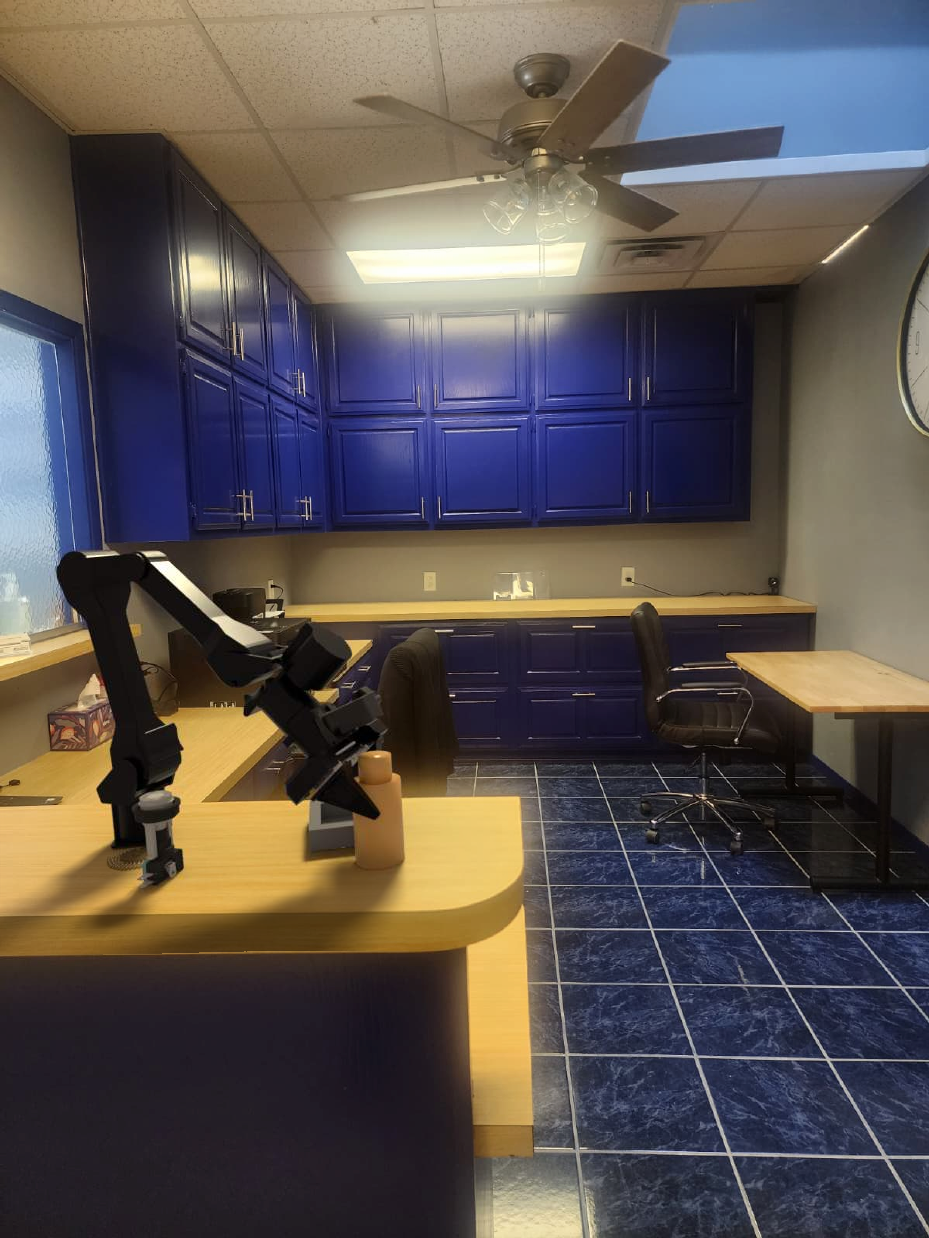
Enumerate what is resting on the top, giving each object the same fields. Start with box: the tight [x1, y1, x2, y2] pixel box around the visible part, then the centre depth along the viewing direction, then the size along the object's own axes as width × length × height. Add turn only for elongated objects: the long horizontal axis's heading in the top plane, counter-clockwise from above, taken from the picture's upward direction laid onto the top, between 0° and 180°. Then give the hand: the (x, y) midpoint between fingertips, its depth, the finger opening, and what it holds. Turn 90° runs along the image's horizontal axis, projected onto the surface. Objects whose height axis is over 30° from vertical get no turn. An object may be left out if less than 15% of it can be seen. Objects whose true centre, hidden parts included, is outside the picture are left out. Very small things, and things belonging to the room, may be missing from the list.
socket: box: [308, 800, 355, 853], centre depth 98 cm, size 11×11×3 cm
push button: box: [132, 789, 185, 889], centre depth 86 cm, size 7×5×10 cm
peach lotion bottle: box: [353, 750, 406, 871], centre depth 89 cm, size 6×6×13 cm
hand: (388, 807), depth 88 cm, fingers closed on peach lotion bottle, 6 cm apart
